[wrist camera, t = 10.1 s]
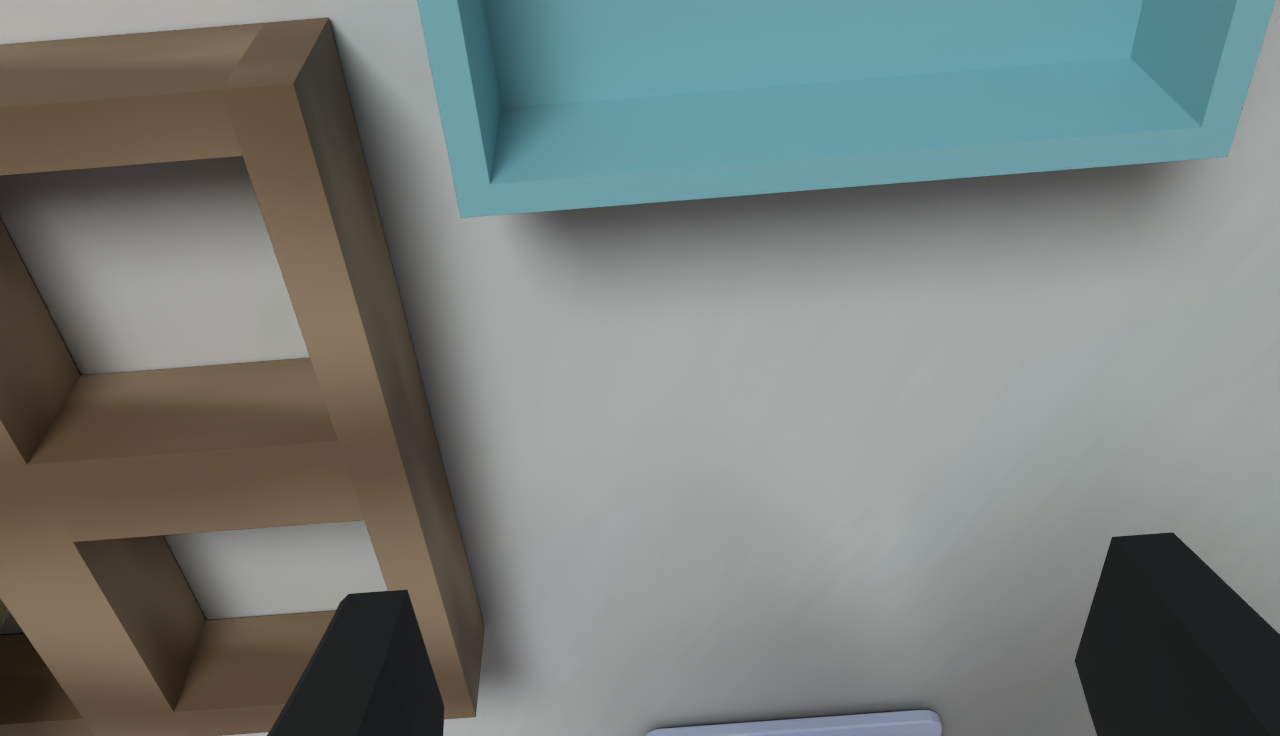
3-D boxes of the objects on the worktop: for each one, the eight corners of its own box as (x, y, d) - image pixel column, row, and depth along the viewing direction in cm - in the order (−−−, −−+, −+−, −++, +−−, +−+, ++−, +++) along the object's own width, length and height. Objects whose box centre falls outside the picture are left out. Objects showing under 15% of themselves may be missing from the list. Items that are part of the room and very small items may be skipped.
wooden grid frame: (484, 626, 26) (475, 716, 24) (-125, 671, 26) (-183, 764, 24) (328, 17, 16) (293, 83, 14) (-619, 96, 17) (-782, 171, 15)
